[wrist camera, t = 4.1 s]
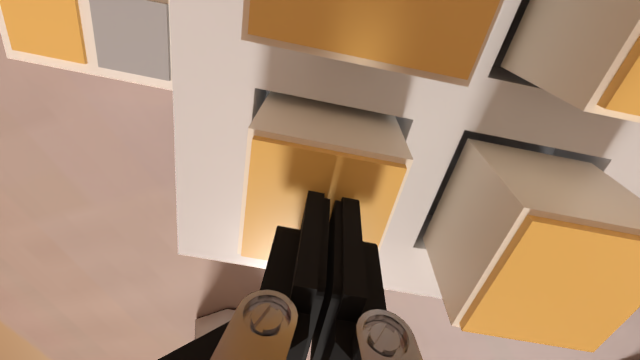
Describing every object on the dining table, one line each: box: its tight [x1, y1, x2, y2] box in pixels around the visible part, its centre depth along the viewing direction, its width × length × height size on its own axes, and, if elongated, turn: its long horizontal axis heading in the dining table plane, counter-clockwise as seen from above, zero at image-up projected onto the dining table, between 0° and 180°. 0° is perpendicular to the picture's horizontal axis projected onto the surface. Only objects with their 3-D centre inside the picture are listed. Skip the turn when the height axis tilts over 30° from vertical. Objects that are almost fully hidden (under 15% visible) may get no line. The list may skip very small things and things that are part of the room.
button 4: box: [237, 91, 413, 261], centre depth 14 cm, size 5×5×5 cm
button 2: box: [423, 138, 640, 352], centre depth 13 cm, size 5×5×5 cm
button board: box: [170, 0, 640, 299], centre depth 14 cm, size 20×20×4 cm
